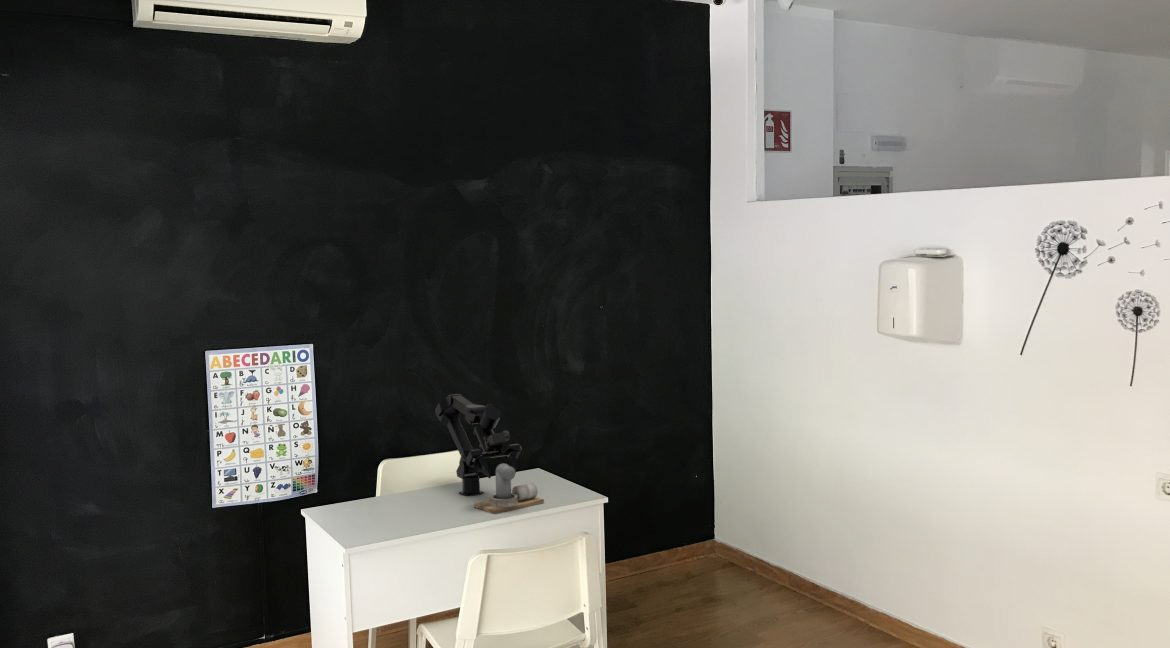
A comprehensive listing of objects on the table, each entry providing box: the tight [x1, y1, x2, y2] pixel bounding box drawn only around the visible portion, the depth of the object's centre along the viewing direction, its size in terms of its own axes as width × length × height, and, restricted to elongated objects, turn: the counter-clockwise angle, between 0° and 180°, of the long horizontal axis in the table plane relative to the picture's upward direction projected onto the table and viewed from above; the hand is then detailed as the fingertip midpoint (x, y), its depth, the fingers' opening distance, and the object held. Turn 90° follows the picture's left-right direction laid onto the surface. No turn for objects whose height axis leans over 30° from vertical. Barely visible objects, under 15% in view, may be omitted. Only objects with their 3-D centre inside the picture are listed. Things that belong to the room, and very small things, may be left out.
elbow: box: [495, 463, 516, 499], centre depth 298 cm, size 7×5×14 cm
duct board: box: [473, 482, 545, 515], centre depth 302 cm, size 12×20×6 cm, turn 130°
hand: (502, 475), depth 299 cm, fingers open, 9 cm apart
